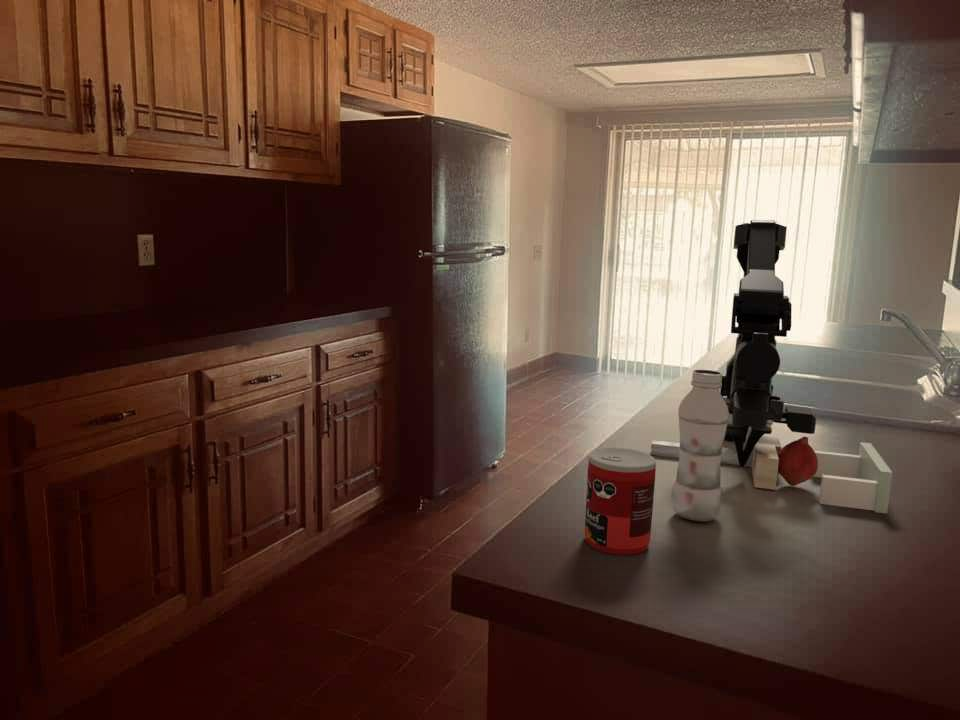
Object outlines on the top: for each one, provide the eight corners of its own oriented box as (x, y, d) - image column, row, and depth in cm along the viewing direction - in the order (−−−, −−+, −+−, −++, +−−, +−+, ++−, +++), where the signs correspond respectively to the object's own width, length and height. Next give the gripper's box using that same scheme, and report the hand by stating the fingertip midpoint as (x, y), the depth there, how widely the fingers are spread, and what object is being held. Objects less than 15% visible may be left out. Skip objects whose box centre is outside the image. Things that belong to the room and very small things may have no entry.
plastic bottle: (695, 530, 94) (708, 378, 90) (659, 512, 100) (670, 369, 96) (731, 522, 97) (745, 375, 93) (694, 505, 103) (706, 366, 99)
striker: (743, 460, 123) (746, 433, 122) (775, 463, 121) (778, 436, 120) (747, 486, 110) (750, 456, 109) (782, 490, 109) (786, 460, 108)
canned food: (580, 528, 93) (585, 446, 91) (643, 531, 93) (649, 448, 91) (587, 555, 86) (592, 465, 84) (655, 557, 86) (662, 468, 84)
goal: (807, 472, 118) (812, 437, 117) (866, 479, 115) (870, 443, 114) (820, 505, 104) (825, 465, 103) (887, 513, 101) (892, 472, 100)
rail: (651, 450, 127) (652, 439, 127) (846, 473, 118) (847, 461, 118) (650, 454, 125) (651, 443, 125) (848, 478, 116) (850, 466, 116)
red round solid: (765, 481, 111) (778, 432, 109) (778, 475, 115) (791, 427, 113) (803, 496, 107) (817, 445, 106) (816, 489, 112) (830, 440, 110)
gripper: (687, 372, 106) (677, 474, 109) (826, 386, 101) (812, 493, 103) (690, 359, 117) (681, 452, 120) (817, 371, 111) (804, 469, 114)
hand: (741, 466), depth 114 cm, fingers closed
